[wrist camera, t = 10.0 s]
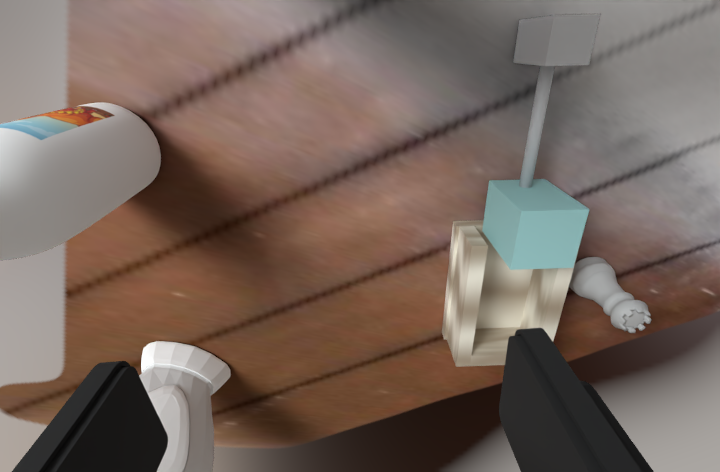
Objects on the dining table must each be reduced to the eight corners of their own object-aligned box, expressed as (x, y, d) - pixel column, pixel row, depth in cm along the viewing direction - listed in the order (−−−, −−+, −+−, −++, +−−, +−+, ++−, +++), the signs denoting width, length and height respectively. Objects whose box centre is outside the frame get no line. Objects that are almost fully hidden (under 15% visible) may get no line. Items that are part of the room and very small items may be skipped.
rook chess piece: (557, 268, 40) (603, 317, 32) (599, 246, 39) (655, 292, 31) (572, 296, 41) (619, 349, 34) (612, 276, 40) (669, 326, 33)
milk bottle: (170, 121, 32) (-56, 218, 14) (157, 201, 35) (-41, 362, 17) (72, 86, 30) (-320, 143, 13) (68, 172, 34) (-250, 316, 16)
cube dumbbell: (506, 20, 29) (559, 11, 22) (570, 18, 29) (644, 9, 22) (478, 225, 37) (510, 269, 30) (529, 224, 37) (573, 267, 30)
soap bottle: (123, 371, 44) (-92, 683, 23) (137, 325, 41) (-95, 633, 20) (229, 403, 47) (128, 706, 26) (250, 362, 44) (155, 666, 23)
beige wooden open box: (453, 221, 37) (468, 246, 32) (554, 218, 37) (584, 242, 32) (441, 332, 43) (453, 366, 38) (528, 329, 43) (550, 363, 39)
